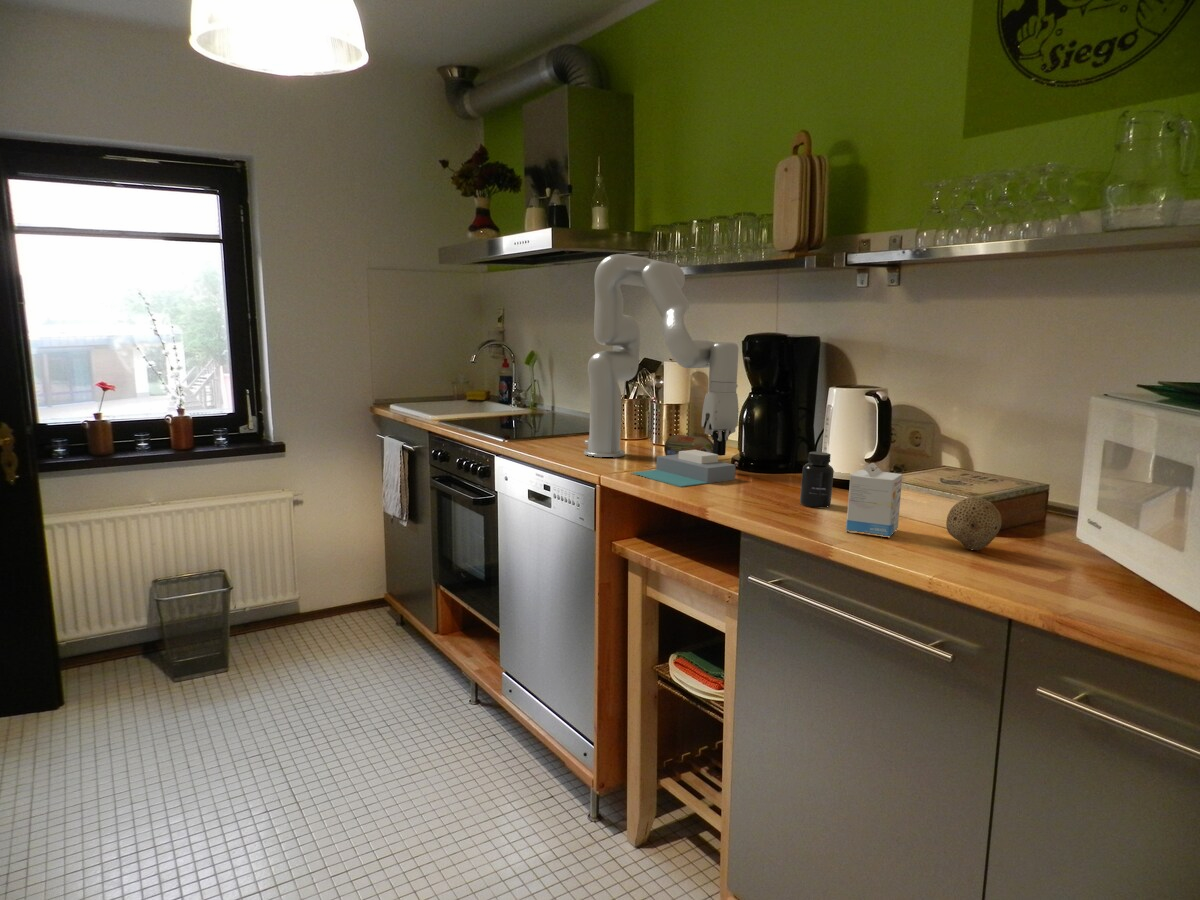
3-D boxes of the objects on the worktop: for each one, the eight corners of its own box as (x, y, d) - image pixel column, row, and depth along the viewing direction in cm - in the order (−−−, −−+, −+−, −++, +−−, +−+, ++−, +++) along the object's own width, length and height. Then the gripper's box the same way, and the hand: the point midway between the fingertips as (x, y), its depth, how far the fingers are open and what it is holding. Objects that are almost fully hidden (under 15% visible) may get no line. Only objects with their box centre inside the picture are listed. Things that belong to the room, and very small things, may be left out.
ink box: (889, 539, 148) (895, 471, 146) (844, 532, 153) (850, 466, 150) (898, 530, 155) (904, 464, 153) (855, 523, 160) (861, 460, 158)
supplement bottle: (814, 509, 171) (818, 456, 170) (793, 503, 177) (797, 451, 175) (837, 506, 175) (841, 454, 173) (816, 500, 181) (819, 450, 179)
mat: (630, 473, 207) (630, 472, 207) (656, 470, 213) (656, 469, 213) (680, 487, 192) (680, 486, 192) (707, 483, 197) (707, 482, 197)
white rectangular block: (678, 458, 209) (678, 451, 209) (694, 456, 213) (694, 449, 213) (701, 463, 202) (701, 456, 202) (717, 461, 206) (718, 454, 206)
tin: (663, 461, 227) (664, 433, 226) (667, 460, 230) (668, 432, 229) (711, 467, 220) (713, 438, 219) (715, 465, 223) (717, 436, 222)
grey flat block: (656, 470, 213) (656, 456, 212) (683, 467, 219) (683, 453, 218) (707, 483, 197) (707, 468, 196) (734, 479, 203) (735, 464, 202)
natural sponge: (972, 559, 136) (978, 504, 135) (932, 546, 144) (937, 494, 143) (1008, 554, 140) (1014, 501, 138) (967, 541, 148) (973, 490, 146)
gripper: (731, 386, 217) (728, 450, 220) (692, 387, 208) (689, 455, 211) (751, 388, 211) (748, 454, 214) (712, 390, 202) (709, 459, 205)
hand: (719, 454), depth 212 cm, fingers closed
